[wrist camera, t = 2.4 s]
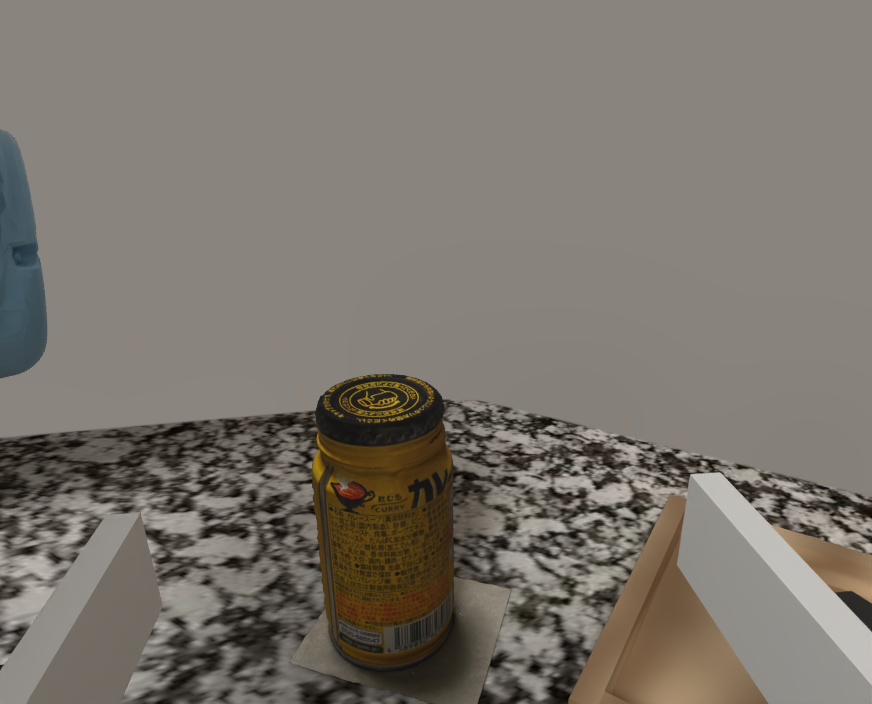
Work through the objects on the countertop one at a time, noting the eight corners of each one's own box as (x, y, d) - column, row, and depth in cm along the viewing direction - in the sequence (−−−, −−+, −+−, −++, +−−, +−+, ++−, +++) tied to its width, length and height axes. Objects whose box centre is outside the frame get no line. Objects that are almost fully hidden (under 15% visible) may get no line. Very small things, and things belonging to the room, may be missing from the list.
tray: (564, 744, 24) (568, 698, 23) (664, 531, 35) (670, 494, 34) (1109, 1046, 16) (1150, 994, 15) (1007, 645, 28) (1027, 602, 27)
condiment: (358, 558, 34) (342, 356, 29) (511, 592, 31) (519, 376, 27) (289, 666, 27) (254, 429, 23) (474, 720, 25) (477, 465, 20)
